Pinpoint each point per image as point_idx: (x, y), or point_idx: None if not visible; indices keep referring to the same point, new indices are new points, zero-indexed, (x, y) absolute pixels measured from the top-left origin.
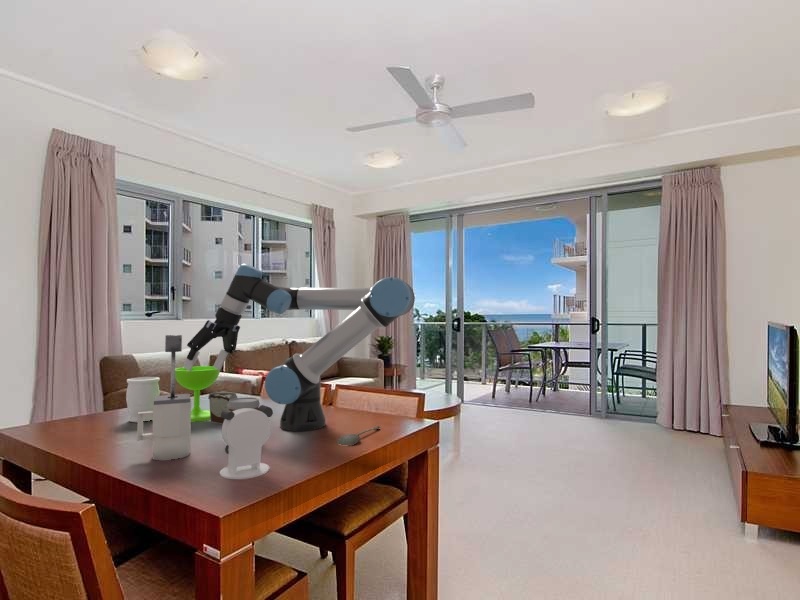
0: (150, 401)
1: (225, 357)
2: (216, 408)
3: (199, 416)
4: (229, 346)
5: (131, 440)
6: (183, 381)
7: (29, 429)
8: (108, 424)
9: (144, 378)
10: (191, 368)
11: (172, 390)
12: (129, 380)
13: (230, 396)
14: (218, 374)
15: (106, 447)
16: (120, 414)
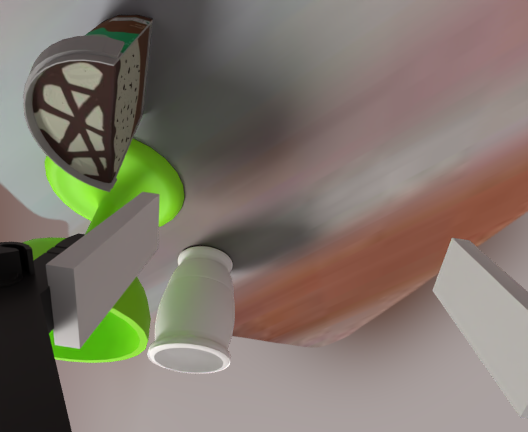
0: (208, 287)
1: (97, 240)
2: (128, 117)
3: (131, 170)
4: (20, 336)
5: (393, 180)
6: (145, 294)
7: (315, 334)
8: (258, 284)
9: (164, 363)
10: (465, 247)
11: None
12: (227, 365)
13: (108, 62)
14: None
15: (458, 188)
16: None
